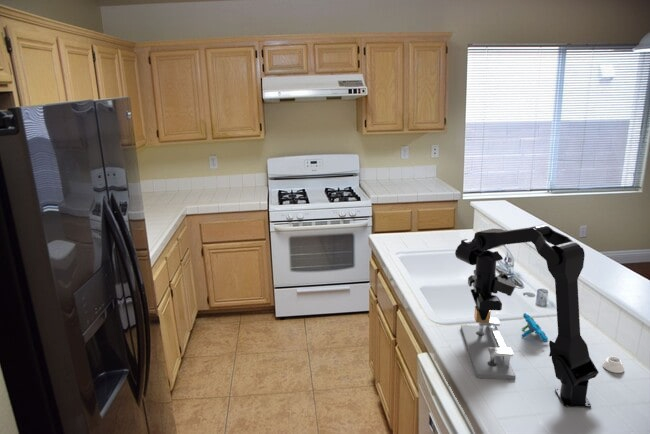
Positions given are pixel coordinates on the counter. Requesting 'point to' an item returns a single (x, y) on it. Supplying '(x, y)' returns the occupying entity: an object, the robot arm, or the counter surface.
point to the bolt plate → (484, 354)
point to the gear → (533, 328)
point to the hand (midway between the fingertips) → (482, 317)
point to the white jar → (613, 364)
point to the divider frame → (499, 348)
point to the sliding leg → (485, 321)
